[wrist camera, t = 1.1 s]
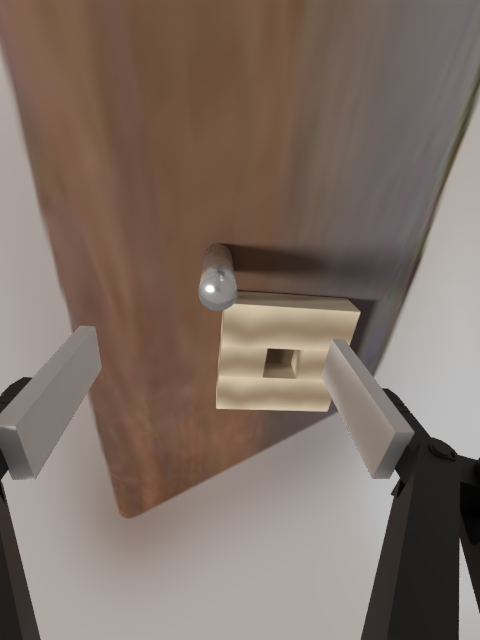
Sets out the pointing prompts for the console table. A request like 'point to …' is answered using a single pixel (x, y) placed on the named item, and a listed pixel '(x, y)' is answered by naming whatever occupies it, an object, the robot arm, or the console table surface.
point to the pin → (218, 279)
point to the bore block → (279, 350)
